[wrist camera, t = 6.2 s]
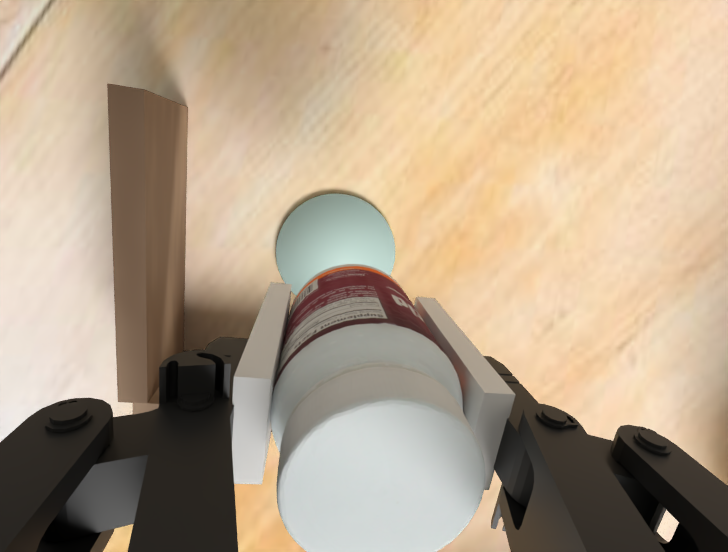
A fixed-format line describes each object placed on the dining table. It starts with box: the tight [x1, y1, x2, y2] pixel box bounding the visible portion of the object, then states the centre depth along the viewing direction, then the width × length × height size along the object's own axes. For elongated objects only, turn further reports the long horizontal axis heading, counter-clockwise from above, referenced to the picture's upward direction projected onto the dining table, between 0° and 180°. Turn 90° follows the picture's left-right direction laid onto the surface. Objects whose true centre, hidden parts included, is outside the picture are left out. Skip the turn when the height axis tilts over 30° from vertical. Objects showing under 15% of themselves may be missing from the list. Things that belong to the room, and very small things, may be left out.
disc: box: [276, 193, 395, 296], centre depth 26 cm, size 8×8×1 cm
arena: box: [107, 84, 272, 432], centre depth 24 cm, size 21×18×6 cm
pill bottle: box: [270, 264, 486, 552], centre depth 11 cm, size 5×5×8 cm
